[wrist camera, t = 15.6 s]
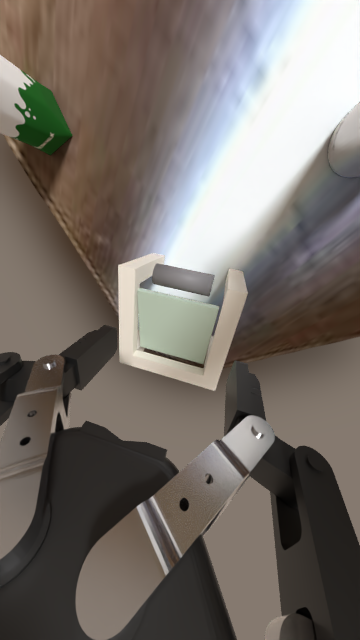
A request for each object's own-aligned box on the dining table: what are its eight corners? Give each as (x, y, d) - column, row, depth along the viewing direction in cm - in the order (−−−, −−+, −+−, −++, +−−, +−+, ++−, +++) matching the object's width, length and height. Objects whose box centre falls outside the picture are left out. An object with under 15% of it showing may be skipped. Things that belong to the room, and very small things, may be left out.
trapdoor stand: (152, 253, 44) (118, 265, 31) (242, 271, 41) (247, 293, 28) (147, 328, 54) (119, 362, 41) (219, 347, 51) (214, 390, 38)
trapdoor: (149, 258, 34) (136, 269, 30) (227, 274, 32) (224, 288, 28) (149, 330, 45) (140, 346, 41) (207, 346, 43) (203, 364, 39)
